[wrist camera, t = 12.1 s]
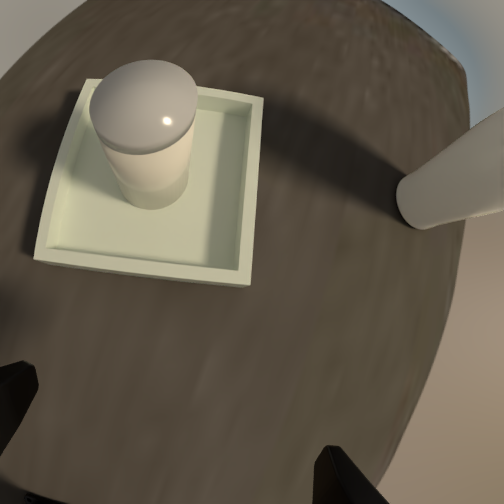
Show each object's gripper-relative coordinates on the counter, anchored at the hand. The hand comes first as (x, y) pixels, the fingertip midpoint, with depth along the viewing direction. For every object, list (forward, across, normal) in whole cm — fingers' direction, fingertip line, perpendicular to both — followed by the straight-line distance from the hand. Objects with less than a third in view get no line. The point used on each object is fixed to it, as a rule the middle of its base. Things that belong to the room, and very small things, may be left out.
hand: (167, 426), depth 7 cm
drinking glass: (+22, -16, -8) cm, 28 cm away
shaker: (+15, +6, -5) cm, 17 cm away
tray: (+16, +7, -5) cm, 18 cm away
